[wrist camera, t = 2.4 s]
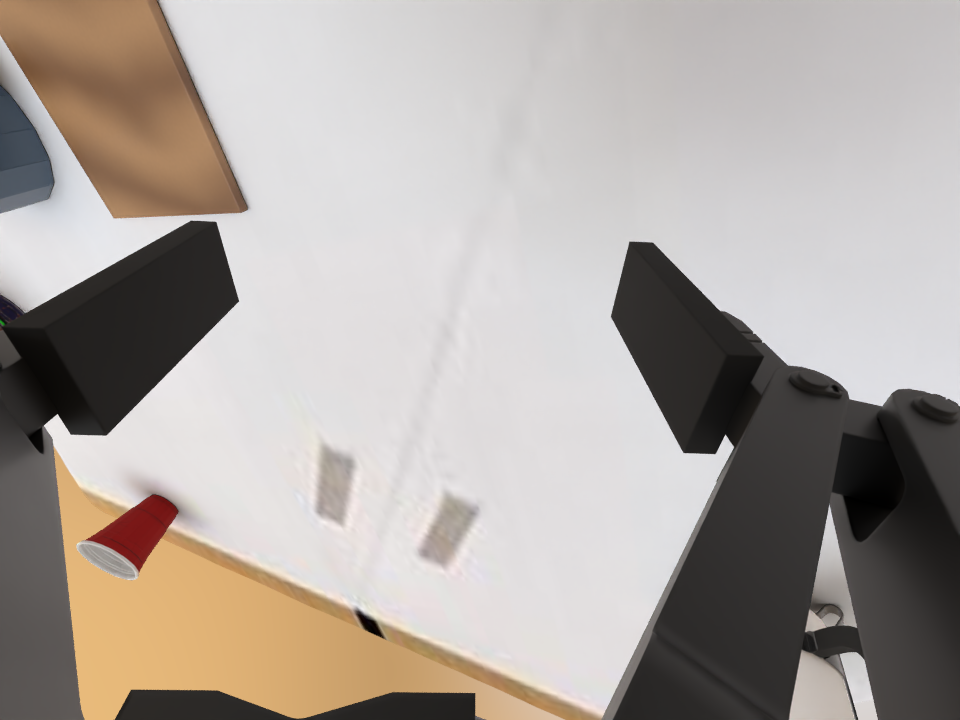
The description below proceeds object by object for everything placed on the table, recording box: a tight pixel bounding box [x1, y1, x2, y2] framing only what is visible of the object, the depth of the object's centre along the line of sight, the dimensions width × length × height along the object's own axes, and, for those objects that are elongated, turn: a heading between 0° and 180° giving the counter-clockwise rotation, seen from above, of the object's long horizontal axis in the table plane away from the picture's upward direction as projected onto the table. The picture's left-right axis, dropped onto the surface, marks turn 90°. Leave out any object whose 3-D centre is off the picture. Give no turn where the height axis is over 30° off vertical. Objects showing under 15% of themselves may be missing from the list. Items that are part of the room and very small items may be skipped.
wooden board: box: [0, 0, 248, 218], centre depth 32 cm, size 20×15×1 cm
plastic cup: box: [76, 495, 178, 580], centre depth 77 cm, size 11×11×12 cm
